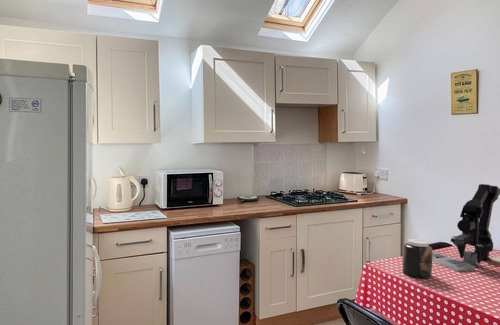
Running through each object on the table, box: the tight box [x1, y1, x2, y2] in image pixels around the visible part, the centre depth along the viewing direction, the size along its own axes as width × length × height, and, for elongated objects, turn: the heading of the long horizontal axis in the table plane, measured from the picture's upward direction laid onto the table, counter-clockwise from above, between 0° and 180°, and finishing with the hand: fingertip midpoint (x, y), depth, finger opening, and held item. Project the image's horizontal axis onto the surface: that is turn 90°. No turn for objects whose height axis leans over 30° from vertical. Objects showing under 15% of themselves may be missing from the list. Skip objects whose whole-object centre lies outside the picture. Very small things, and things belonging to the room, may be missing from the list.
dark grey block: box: [462, 250, 478, 267], centre depth 176 cm, size 4×4×6 cm
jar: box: [402, 238, 433, 280], centre depth 160 cm, size 12×12×15 cm
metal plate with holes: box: [432, 250, 476, 273], centre depth 178 cm, size 10×24×2 cm, turn 18°
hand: (470, 260), depth 176 cm, fingers open, 9 cm apart
